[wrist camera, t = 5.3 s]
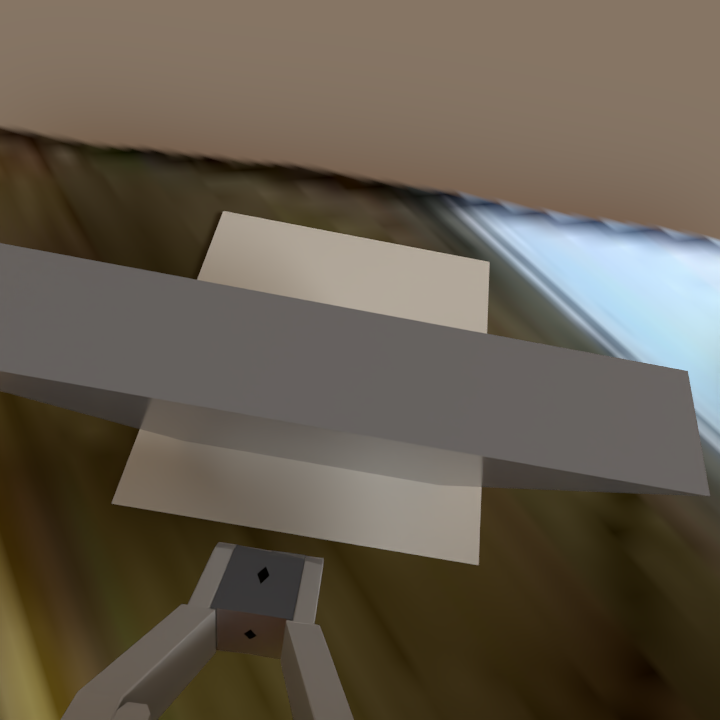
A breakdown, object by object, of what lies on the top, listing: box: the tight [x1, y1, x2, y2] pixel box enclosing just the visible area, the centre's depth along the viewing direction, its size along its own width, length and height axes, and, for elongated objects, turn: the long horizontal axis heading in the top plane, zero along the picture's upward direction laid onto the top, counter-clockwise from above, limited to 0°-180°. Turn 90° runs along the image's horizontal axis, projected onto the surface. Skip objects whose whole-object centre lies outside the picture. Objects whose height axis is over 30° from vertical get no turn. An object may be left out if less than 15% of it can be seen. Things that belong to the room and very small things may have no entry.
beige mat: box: [111, 211, 489, 565], centre depth 18 cm, size 16×16×1 cm
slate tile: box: [0, 243, 710, 496], centre depth 10 cm, size 2×12×12 cm, turn 81°
